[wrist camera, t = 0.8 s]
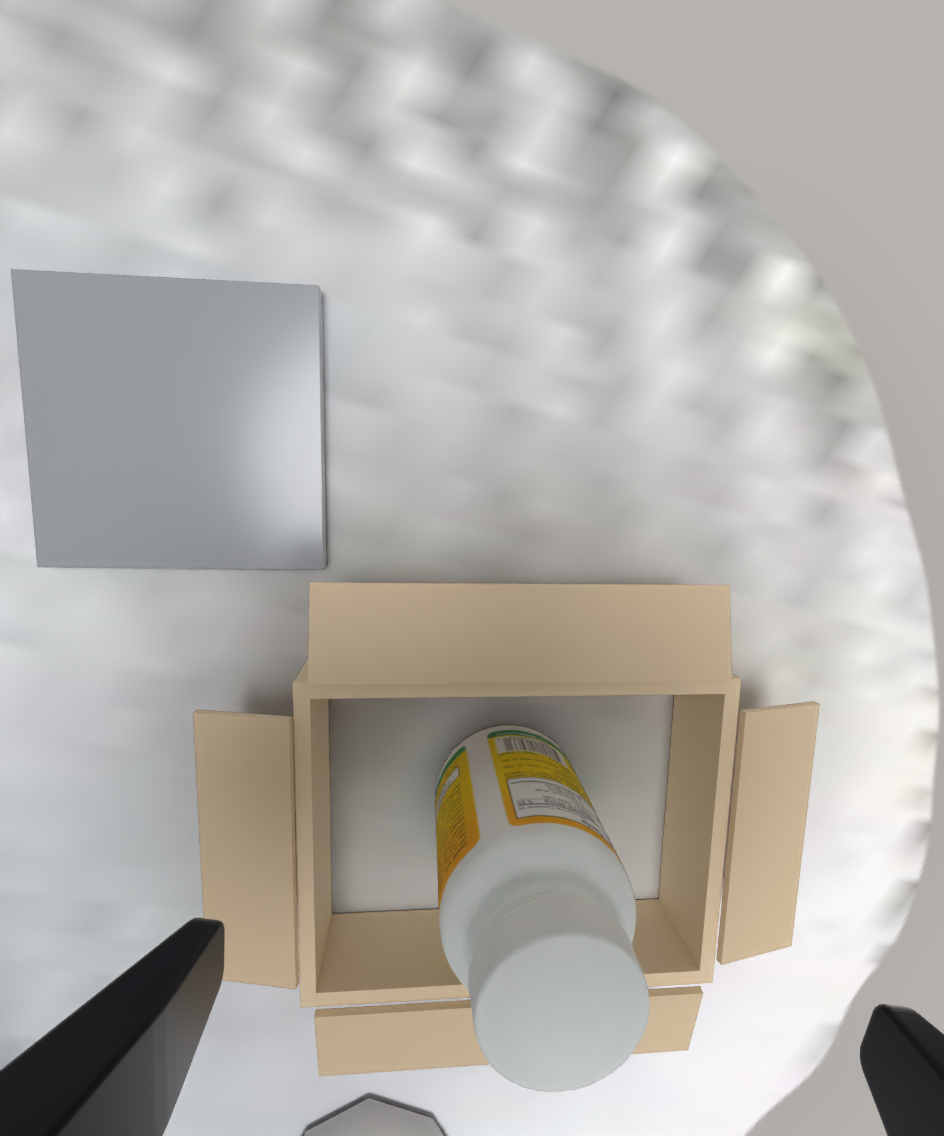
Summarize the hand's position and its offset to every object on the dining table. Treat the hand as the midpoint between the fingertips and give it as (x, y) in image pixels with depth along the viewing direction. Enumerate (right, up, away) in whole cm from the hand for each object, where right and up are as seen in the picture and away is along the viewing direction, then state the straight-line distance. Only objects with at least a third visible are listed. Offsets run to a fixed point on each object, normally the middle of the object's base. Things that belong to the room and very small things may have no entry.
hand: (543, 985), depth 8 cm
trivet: (-10, +10, +11) cm, 18 cm away
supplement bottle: (0, -3, +14) cm, 15 cm away
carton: (0, -3, +14) cm, 15 cm away
